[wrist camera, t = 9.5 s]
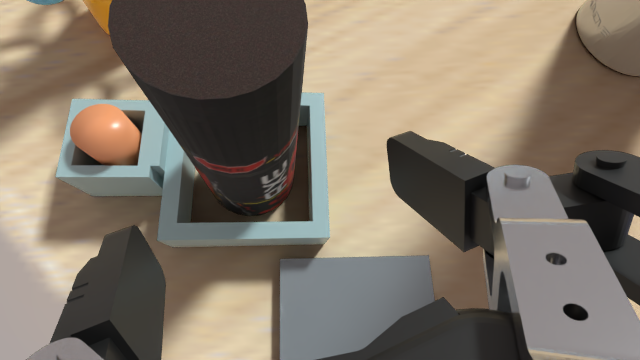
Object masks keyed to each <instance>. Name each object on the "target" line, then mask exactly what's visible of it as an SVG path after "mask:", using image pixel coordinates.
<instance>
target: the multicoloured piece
mask: <svg viewBox="0 0 640 360" xmlns="http://www.w3.org/2000/svg"><path fill="white" fill-rule="evenodd" d="M27 1H29V2H32V3H35V4H41V5H51V4H56V3H59V2H61V1H63V0H27ZM83 2H84V3H85V5H86V6H87V8H88V9H89V11H90V12H91V13H92V15H93V16H94V18H95V19H96V21H97V22H98V24H99V25H100V27H101V28H102V29H103V30H104V31H105V32H106V33H107V34H109V35H110V33H109V29H108V19H109V7H110V4H111V2H112V0H83Z"/></svg>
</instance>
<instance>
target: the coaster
mask: <svg viewBox="0 0 640 360" xmlns="http://www.w3.org/2000/svg"><path fill="white" fill-rule="evenodd" d="M434 301H435V299H434V292H433V284H432V276H431V268H430V261H429V255H427V256H386V257H344V258H303V259H280V360H316V359H321V358H325V357H330V356H335V355H340V354H345V353H350V352H355V351H358V350H361V349H363V348H365V347H366V346H367V345H369V344H370V343H371V342H372V341H373V340H375V339H376V338H377V337H378V336H379V335H381V334H382V333H383V332H384V331H385V330H387V329H388V328H389V327H390V326H391V325H393V324H394V323H395V322H396V321H397V320H399V319H400V318H401V317H402V316H404V315H407V314H409V313H411V312H413V311H415V310H417V309H419V308H421V307H424V306H426V305H428V304H430V303H432V302H434Z"/></svg>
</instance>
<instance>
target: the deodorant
mask: <svg viewBox="0 0 640 360" xmlns="http://www.w3.org/2000/svg"><path fill="white" fill-rule="evenodd" d="M108 29H109V33H110V37H111V41H112V45H113V48H114V50H115V51H116V53H117V54H118V56H119V57H120V59H121V60H122V62H123V63H124V65H125V66H126V68H127V69H128V70H129V72H130V73H131V75H132V76H133V78H134V79H135V81H136V82H137V84H138V85H139V86H140V88H141V89H142V91H143V92H144V94H145V95H146V97H147V98H148V100H149V101H150V102H151V104H152V105H153V107H154V108H155V110H156V111H157V113H158V114H159V116H160V117H161V118H162V120H163V121H164V123H165V124H166V126H167V127H168V129H169V130H170V132H171V133H172V134H173V136H174V137H175V139H176V140H177V142H178V143H179V145H180V146H181V148H182V149H183V150H184V152H185V153H186V155H187V156H188V158H189V159H190V161H191V162H192V164H193V165H194V167H195V168H196V169H197V171H198V172H199V174H200V175H201V177H202V178H203V180H204V181H205V183H206V184H207V185H208V187H209V188H210V190H211V191H212V193H213V194H214V196H215V197H216V199H217V200H218V201H219V203H221V204H222V205H223V206H224V207H225V208H226V209H228V210H230V211H232V212H234V213H237V214H240V215H246V216H253V215H261V214H264V213H267V212H270V211H272V210H273V209H275V208H276V207H278V206H279V205H281V204H282V202H283V201H284V200H285V199H286V198H287V197H288V195H289V193H290V190H291V188H292V185H293V179H294V170H295V159H296V149H297V138H298V127H299V116H300V105H301V94H302V84H303V73H304V62H305V51H306V40H307V29H308V20H307V12H306V4H305V2H304V0H112V2H111V4H110V7H109V19H108Z"/></svg>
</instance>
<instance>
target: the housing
mask: <svg viewBox="0 0 640 360" xmlns="http://www.w3.org/2000/svg"><path fill="white" fill-rule="evenodd" d="M96 104H110V105H113V106H115V107H117V108H119V109H120V110H121V111H122V112H123V113H124V114H125V115H126V116H127V117H128V118H129V120H130V121H131V122H132V123H133V124H134V125H135V126H136V128H137V129H138V130H139V131H140V132H141V133H142V138H141V145H140V152H139V159H138V166H109V165H102V164H101V163H99V162H98V161H97V160H95V159H94V158H92V157H91V156H90V155H88V154H87V153H85V152H84V151H83V150H81V149H80V148H78V147H77V146H76V145H75V144H74V143H73V141H72V139H71V136H70V126H71V123H72V121H73V119H74V118H75V117H76V115H77V114H78V113H79V112H81V111H82V110H83V109H85V108H87V107H89V106H92V105H96ZM299 126H307V153H308V194H309V221H296V222H218V223H191V211H192V199H193V187H194V175H195V167H194V165H193V164H192V162H191V161H190V159H189V158H188V156H187V155H186V153H185V152H184V150H183V149H182V148H181V146H180V145H179V143H178V142H177V140H176V139H175V137H174V136H173V134H172V133H171V132H170V130H169V129H168V127H167V126H166V124H165V123H164V121H163V120H162V118H161V117H160V116H159V114H158V113H157V111H156V110H155V108H154V107H153V105H152V104H151V102H150V101H145V100H103V99H72V102H71V107H70V112H69V116H68V121H67V126H66V130H65V135H64V139H63V144H62V149H61V153H60V158H59V162H58V167H57V172H56V176H55V177H56V178H58V179H60V180H62V181H64V182H66V183H68V184H70V185H72V186H74V187H76V188H78V189H80V190H81V191H83V192H85V193H87V194H89V195H91V196H162V200H161V209H160V218H159V227H158V236H157V241H159V242H162V243H164V244H166V245H169V246H171V247H212V246H262V245H312V244H325V243H326V242H327V240H328V239H329V238H330V229H329V205H328V182H327V158H326V134H325V111H324V93H302V94H301V105H300V116H299Z"/></svg>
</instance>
